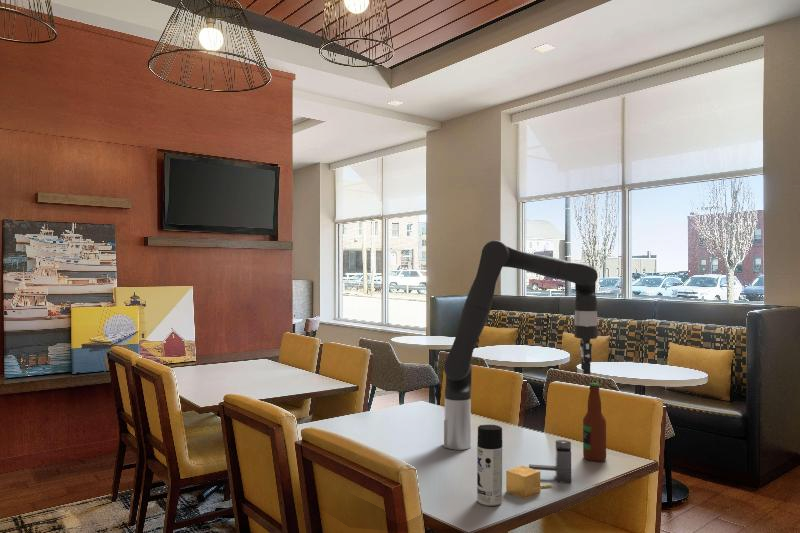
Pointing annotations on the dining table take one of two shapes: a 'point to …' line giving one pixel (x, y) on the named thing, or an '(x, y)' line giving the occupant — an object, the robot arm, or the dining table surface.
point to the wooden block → (523, 481)
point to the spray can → (489, 465)
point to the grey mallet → (560, 462)
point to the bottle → (594, 428)
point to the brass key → (545, 485)
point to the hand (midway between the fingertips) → (585, 371)
